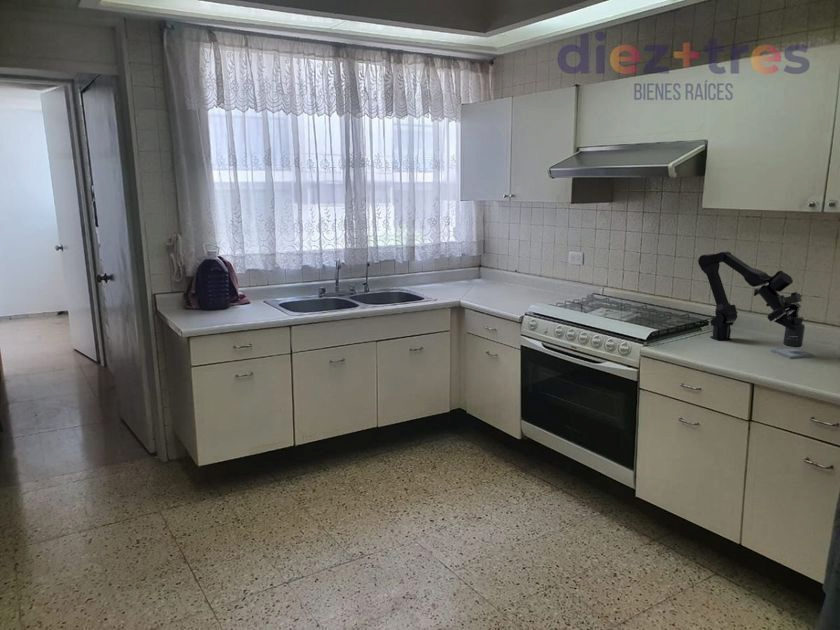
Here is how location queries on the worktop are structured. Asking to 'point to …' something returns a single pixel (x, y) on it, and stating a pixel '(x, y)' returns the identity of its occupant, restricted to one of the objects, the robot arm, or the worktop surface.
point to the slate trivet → (792, 353)
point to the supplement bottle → (794, 333)
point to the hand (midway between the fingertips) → (798, 328)
